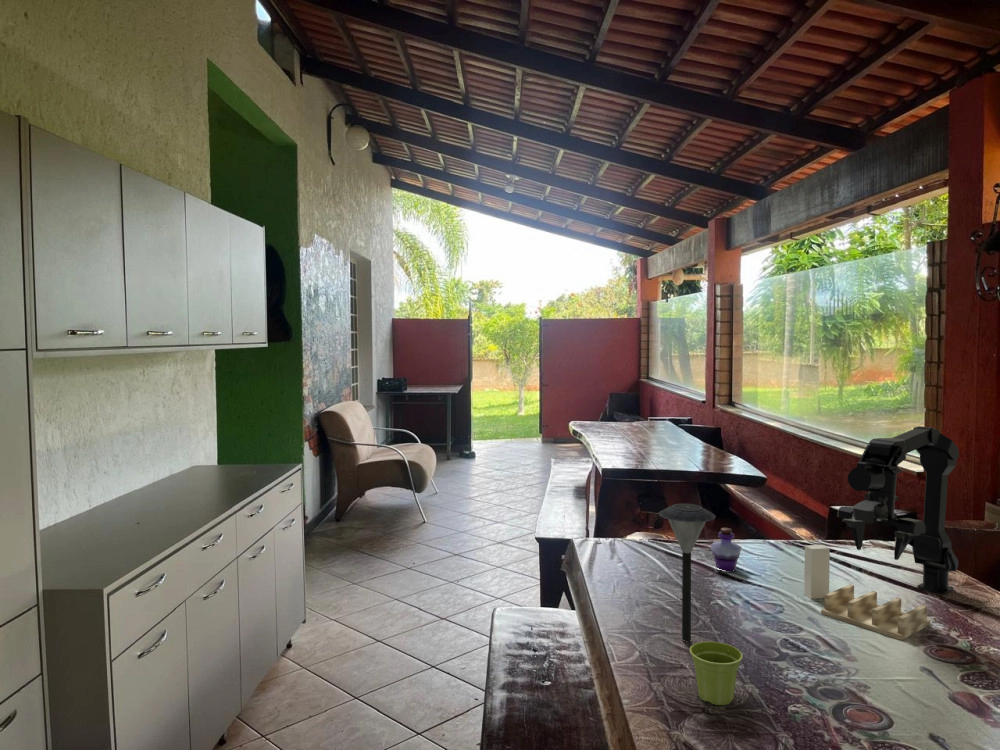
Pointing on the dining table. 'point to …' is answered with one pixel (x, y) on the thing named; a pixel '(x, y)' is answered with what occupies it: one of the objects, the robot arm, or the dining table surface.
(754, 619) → the dining table surface
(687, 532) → the solar garden light
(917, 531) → the robot arm
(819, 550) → the cream rectangular block
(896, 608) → the ridged tan cradle
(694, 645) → the plant pot
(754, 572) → the dining table surface
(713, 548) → the potion bottle
